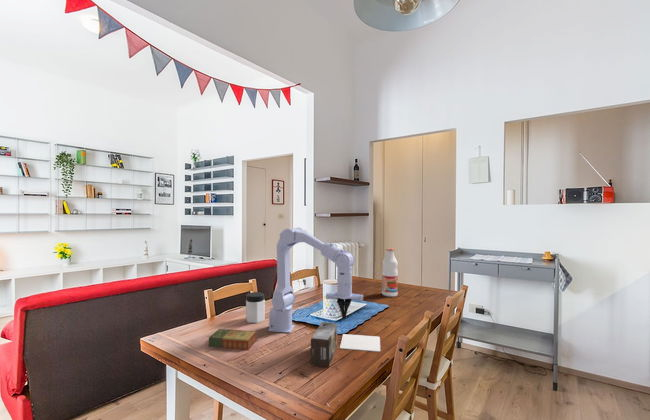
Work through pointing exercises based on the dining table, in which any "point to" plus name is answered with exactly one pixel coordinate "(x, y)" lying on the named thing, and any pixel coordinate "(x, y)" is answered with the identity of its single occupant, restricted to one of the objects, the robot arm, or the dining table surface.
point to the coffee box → (324, 344)
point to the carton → (233, 339)
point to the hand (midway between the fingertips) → (344, 317)
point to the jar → (255, 307)
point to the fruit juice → (390, 274)
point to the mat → (360, 342)
